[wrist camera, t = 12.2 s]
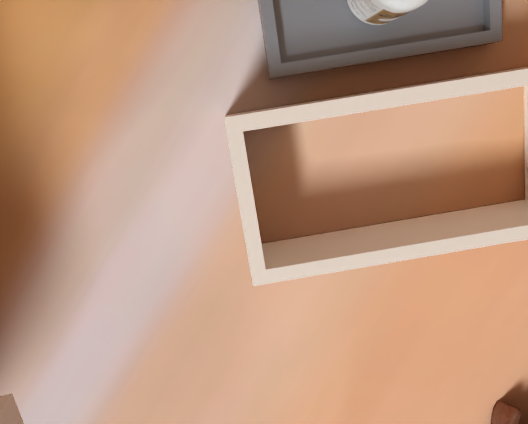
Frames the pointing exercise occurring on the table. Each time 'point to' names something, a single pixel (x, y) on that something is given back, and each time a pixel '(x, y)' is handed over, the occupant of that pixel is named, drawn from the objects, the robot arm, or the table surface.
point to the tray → (369, 33)
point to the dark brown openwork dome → (505, 414)
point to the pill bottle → (382, 9)
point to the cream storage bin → (380, 235)
